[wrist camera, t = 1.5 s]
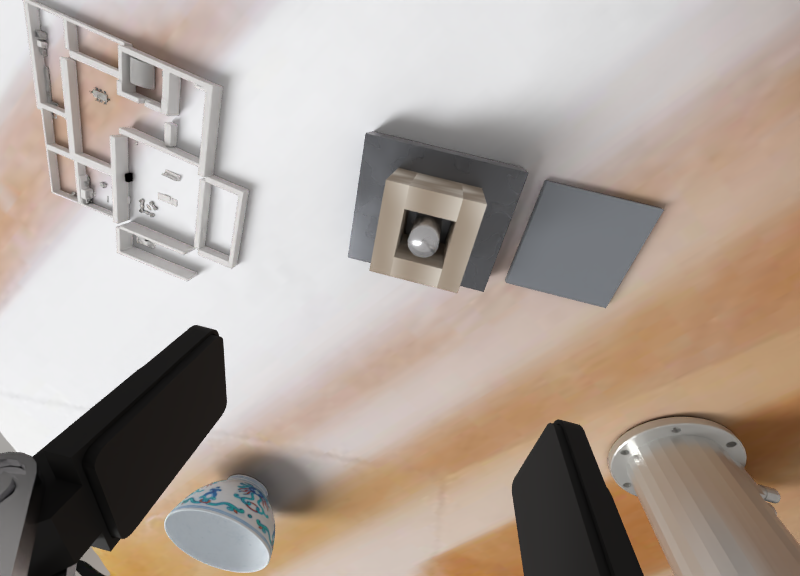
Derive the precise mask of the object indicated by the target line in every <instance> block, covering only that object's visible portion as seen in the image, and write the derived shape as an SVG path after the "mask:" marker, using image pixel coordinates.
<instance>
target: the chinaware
mask: <svg viewBox="0 0 800 576" xmlns="http://www.w3.org/2000/svg"><path fill="white" fill-rule="evenodd" d="M267 496H268V492H267V490H266V488H265V487H264V485H263V484H262V483H260V482H259V481H258V480H256V479H254V478H252V477H249V476H246V475H232V476H230V477H229V478H228V479H227V480H222V481H217V482H214V483H211V484H208V485H206V486H204V487H202V488H200V489H198V490H196V491H195V492H193V493H192V494H190V495H189V496H188V497H186V498H185V499H184V500H183V501H182V502H180V503H179V504H178V505H177V506H176V507H175V508H174V509H173V510H172V511H171V512H170V513H169V515H168V516H167V517H166V519H165V522H164V527H165V530H166V533H167V535H168V536H169V538H170V539H171V540H172V541H173V543H174V544H175V545H177V546H178V547H179V548H180V549H181V550H182V551H184V552H185V553H187V554H188V555H190V556H191V557H193V558H195V559H197V560H199V561H201V562H203V563H205V564H207V565H210V566H213V567H216V568H219V569H222V570H227V571H232V572H241V573H248V572H255V571H259V570H261V569H263V568H265V567H266V566H267V565H268V563H269V561H270V558H271V554H272V550H273V545H274V538H275V521H274V515H273V511H272V508H271V506H270V503H269V501H268V500H267Z"/></svg>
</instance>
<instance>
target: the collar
mask: <svg viewBox="0 0 800 576" xmlns="http://www.w3.org/2000/svg"><path fill="white" fill-rule="evenodd" d="M486 206H487V203H486V200H485V196H484V193H483V190H482V188H479V187H475V186H471V185H467V184H463V183H459V182H455V181H450V180H446V179H442V178H438V177H434V176H430V175H426V174H422V173H418V172H414V171H409V170H405V169H401V168H397V169H396V170H395V171H394V172H393V173H392V174H391V175H390V176H389V177H388V178H387V179H386V182H385V188H384V193H383V199H382V204H381V210H380V215H379V221H378V226H377V232H376V237H375V243H374V248H373V254H372V259H371V265H370V270H369V271H372V272H376V273H380V274H384V275H388V276H392V277H396V278H400V279H403V280H407V281H411V282H415V283H419V284H423V285H427V286H431V287H435V288H439V289H443V290H447V291H450V292H454V293H458V290H459V287H460V284H461V281H462V278H463V275H464V272H465V269H466V266H467V263H468V260H469V257H470V254H471V251H472V248H473V245H474V242H475V239H476V236H477V233H478V230H479V227H480V224H481V221H482V218H483V215H484V212H485V209H486ZM409 210H410V211H414V212H418V213H422V214H426V215H430V216H434V217H438V218H442V219H446V220H451V224H450V228H449V231H448V234H447V238H446V241H445V244H443V243H439V246H438V249H437V251H436V252H435V253H434V254H433V255H432V256H430V257H426V258H421V257H418V256H416V255H414V254H413V253H412V252H411V251H410V249H409V247H408V238H409V235H407V234H404V232H405V227H406V223H407V218H408V214H409Z"/></svg>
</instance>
